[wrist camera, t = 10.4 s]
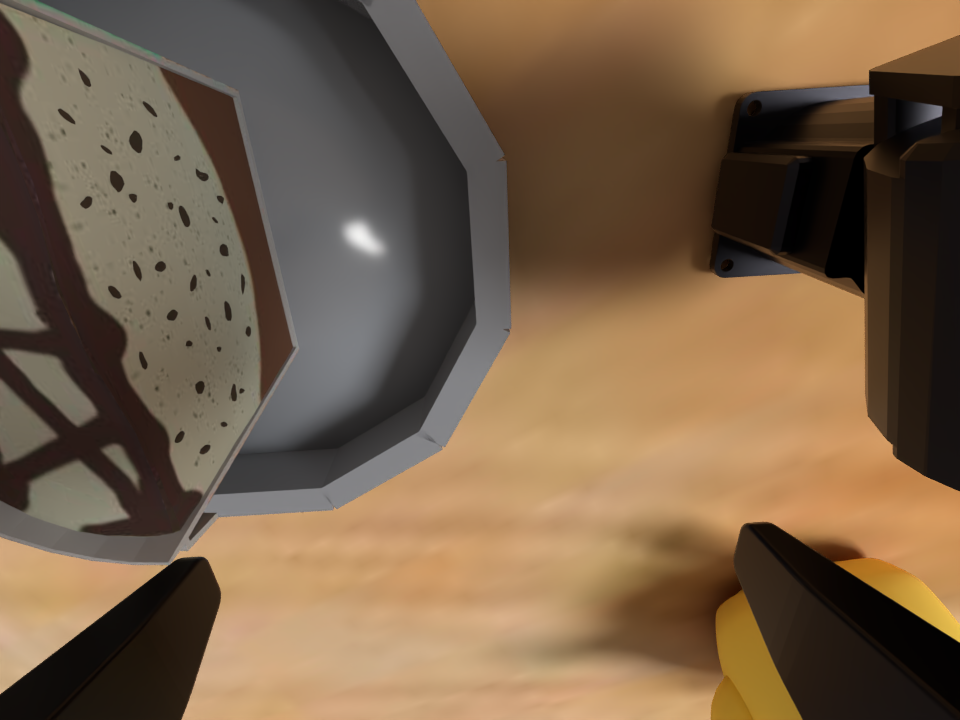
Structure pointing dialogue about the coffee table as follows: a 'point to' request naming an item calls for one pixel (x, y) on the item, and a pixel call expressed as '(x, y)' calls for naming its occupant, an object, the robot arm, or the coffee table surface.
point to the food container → (125, 292)
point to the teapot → (749, 667)
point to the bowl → (352, 230)
